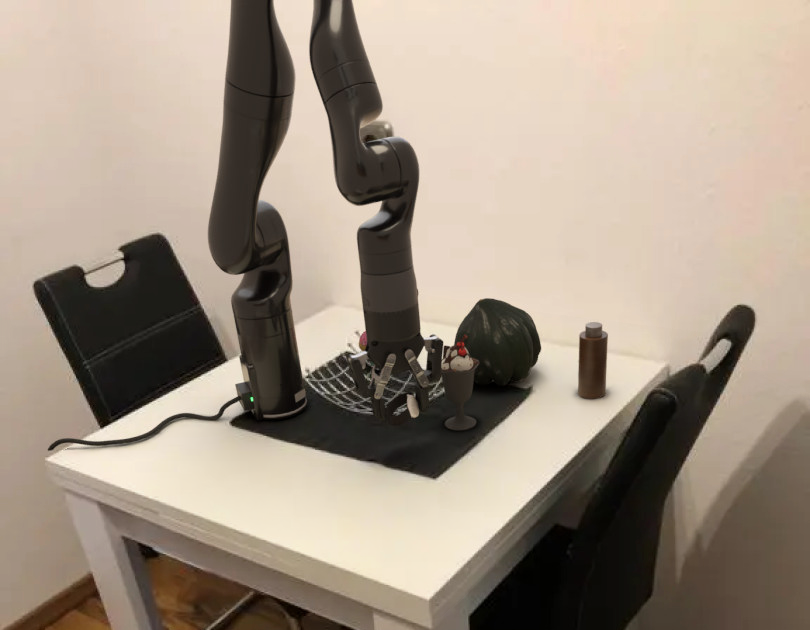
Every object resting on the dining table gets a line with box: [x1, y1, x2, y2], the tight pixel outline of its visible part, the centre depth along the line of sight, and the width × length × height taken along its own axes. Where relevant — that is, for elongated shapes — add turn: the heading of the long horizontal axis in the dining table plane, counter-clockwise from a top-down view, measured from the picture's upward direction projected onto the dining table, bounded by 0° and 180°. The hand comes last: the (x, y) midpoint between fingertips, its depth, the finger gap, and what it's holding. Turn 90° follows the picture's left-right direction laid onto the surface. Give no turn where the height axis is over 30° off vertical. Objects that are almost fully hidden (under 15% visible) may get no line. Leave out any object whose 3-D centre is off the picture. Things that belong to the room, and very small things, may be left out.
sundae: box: [440, 335, 480, 432], centre depth 139 cm, size 7×7×15 cm
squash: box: [453, 297, 542, 387], centre depth 153 cm, size 14×15×15 cm
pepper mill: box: [577, 321, 609, 400], centre depth 145 cm, size 4×4×12 cm
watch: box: [385, 391, 420, 427], centre depth 130 cm, size 8×5×4 cm, turn 168°
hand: (401, 414), depth 131 cm, fingers closed on watch, 5 cm apart
